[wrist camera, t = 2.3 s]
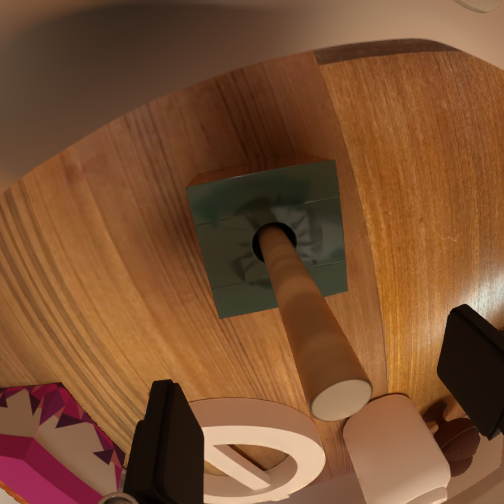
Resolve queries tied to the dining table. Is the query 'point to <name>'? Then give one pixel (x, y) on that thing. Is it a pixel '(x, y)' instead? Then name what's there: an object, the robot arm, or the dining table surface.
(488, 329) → the robot arm
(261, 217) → the utensil stand
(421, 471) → the can
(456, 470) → the ice cream bowl
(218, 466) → the ring with crossbar
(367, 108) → the dining table surface
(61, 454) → the decorative box
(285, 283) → the stick
